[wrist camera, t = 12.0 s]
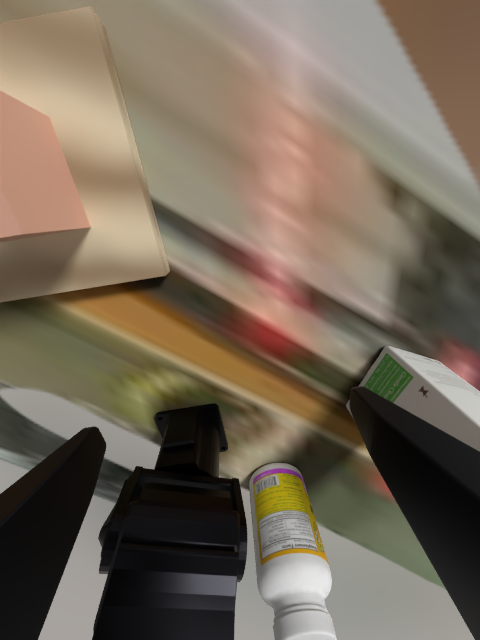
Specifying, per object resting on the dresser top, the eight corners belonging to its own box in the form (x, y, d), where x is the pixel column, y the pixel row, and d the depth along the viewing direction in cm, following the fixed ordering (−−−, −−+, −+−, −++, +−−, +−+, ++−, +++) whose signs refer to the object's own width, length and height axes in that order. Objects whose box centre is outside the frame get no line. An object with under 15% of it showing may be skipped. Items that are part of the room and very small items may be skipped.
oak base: (170, 271, 19) (165, 275, 18) (-1, 299, 20) (-18, 305, 18) (104, 26, 14) (90, 5, 12) (-135, 69, 14) (-175, 54, 13)
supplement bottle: (290, 497, 32) (327, 663, 20) (242, 491, 31) (251, 662, 19) (310, 463, 29) (365, 630, 18) (258, 455, 28) (280, 626, 17)
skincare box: (384, 342, 23) (641, 552, 9) (440, 360, 24) (749, 571, 10) (342, 408, 26) (481, 642, 12) (393, 420, 27) (577, 649, 13)
